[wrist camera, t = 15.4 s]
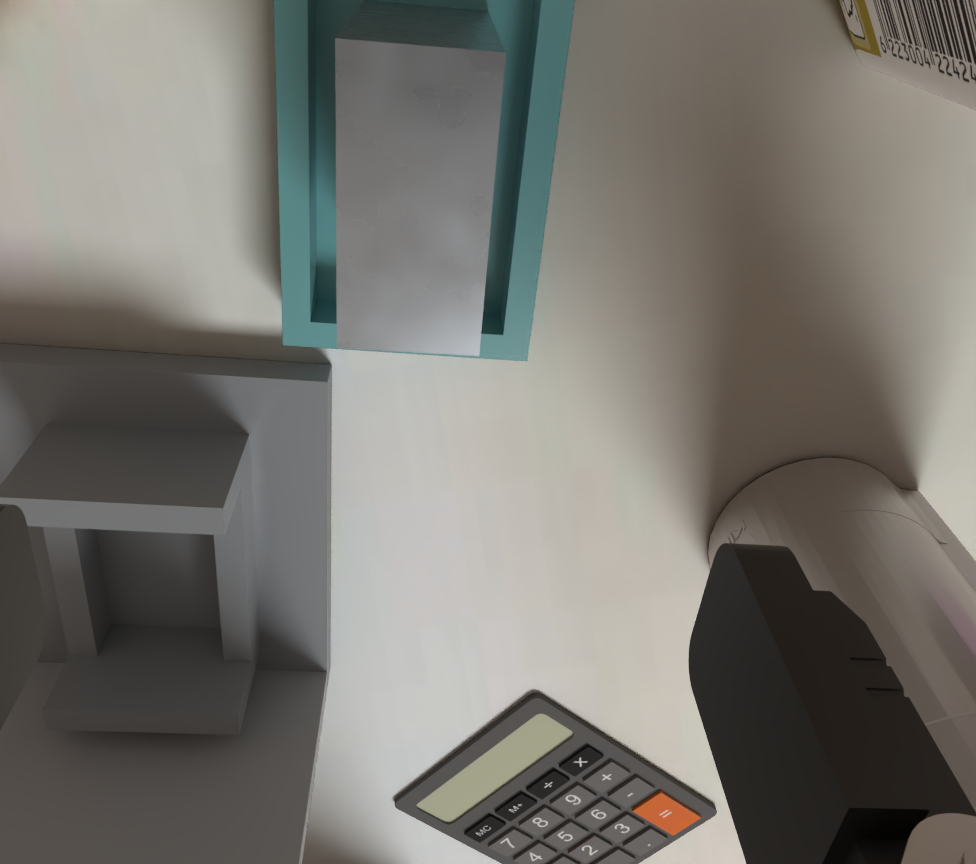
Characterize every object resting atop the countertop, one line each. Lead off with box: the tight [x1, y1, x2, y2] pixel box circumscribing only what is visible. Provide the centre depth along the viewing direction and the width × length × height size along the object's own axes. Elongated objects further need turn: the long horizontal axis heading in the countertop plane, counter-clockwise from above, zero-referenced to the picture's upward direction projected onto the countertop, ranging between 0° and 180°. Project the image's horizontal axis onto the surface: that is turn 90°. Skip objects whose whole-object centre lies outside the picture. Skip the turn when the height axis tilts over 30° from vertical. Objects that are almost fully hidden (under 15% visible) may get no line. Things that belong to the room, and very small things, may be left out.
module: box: [335, 0, 506, 356], centre depth 27 cm, size 4×8×9 cm, turn 175°
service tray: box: [274, 0, 575, 361], centre depth 30 cm, size 9×15×3 cm, turn 175°
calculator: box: [395, 693, 717, 864], centre depth 51 cm, size 12×1×15 cm
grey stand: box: [0, 343, 332, 864], centre depth 33 cm, size 14×17×16 cm
